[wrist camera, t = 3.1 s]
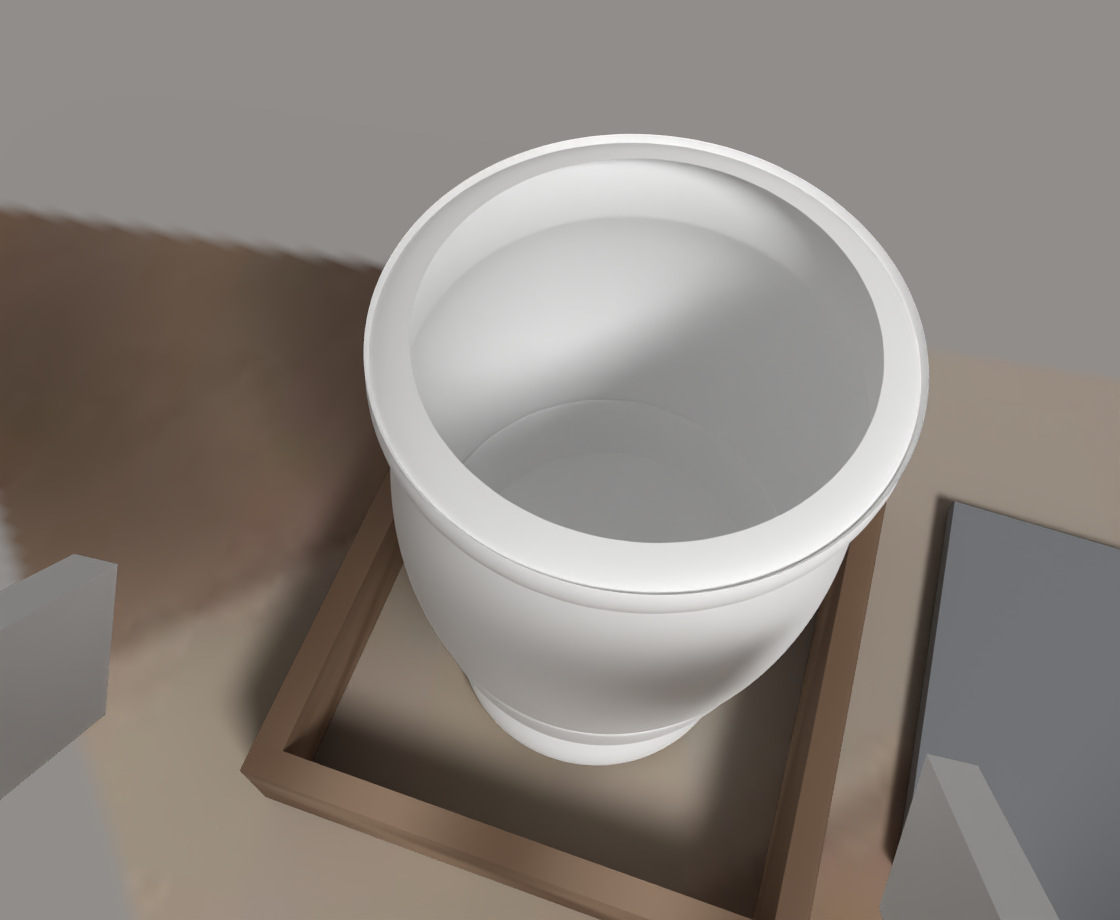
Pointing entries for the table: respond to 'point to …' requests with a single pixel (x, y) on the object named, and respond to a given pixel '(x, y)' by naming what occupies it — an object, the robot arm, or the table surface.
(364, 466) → the table surface
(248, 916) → the table surface
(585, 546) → the jar
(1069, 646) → the pad
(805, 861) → the collar
